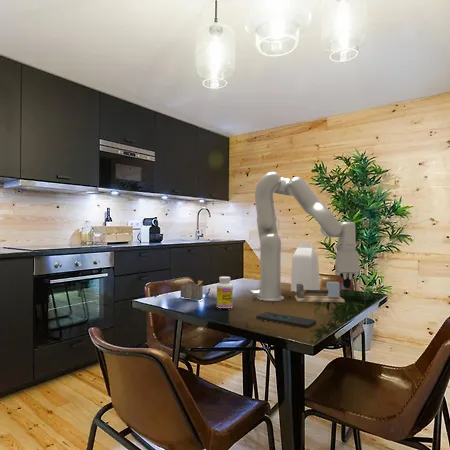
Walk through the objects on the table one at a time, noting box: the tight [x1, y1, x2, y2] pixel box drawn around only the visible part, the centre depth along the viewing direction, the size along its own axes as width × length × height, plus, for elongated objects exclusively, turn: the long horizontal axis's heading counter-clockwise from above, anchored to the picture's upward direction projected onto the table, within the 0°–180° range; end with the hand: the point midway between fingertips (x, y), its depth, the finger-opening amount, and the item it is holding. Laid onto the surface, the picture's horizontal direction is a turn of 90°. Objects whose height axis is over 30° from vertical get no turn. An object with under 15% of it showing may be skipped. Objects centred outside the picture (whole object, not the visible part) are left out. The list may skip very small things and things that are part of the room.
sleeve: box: [325, 281, 341, 297], centre depth 157 cm, size 5×4×6 cm
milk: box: [290, 242, 321, 295], centre depth 182 cm, size 12×12×26 cm
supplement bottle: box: [216, 276, 234, 309], centre depth 140 cm, size 7×7×13 cm
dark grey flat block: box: [255, 311, 317, 329], centre depth 120 cm, size 8×2×20 cm
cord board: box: [294, 284, 346, 303], centre depth 157 cm, size 21×9×7 cm, turn 85°
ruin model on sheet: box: [180, 280, 204, 300], centre depth 157 cm, size 11×3×10 cm, turn 54°
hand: (346, 287), depth 156 cm, fingers closed
